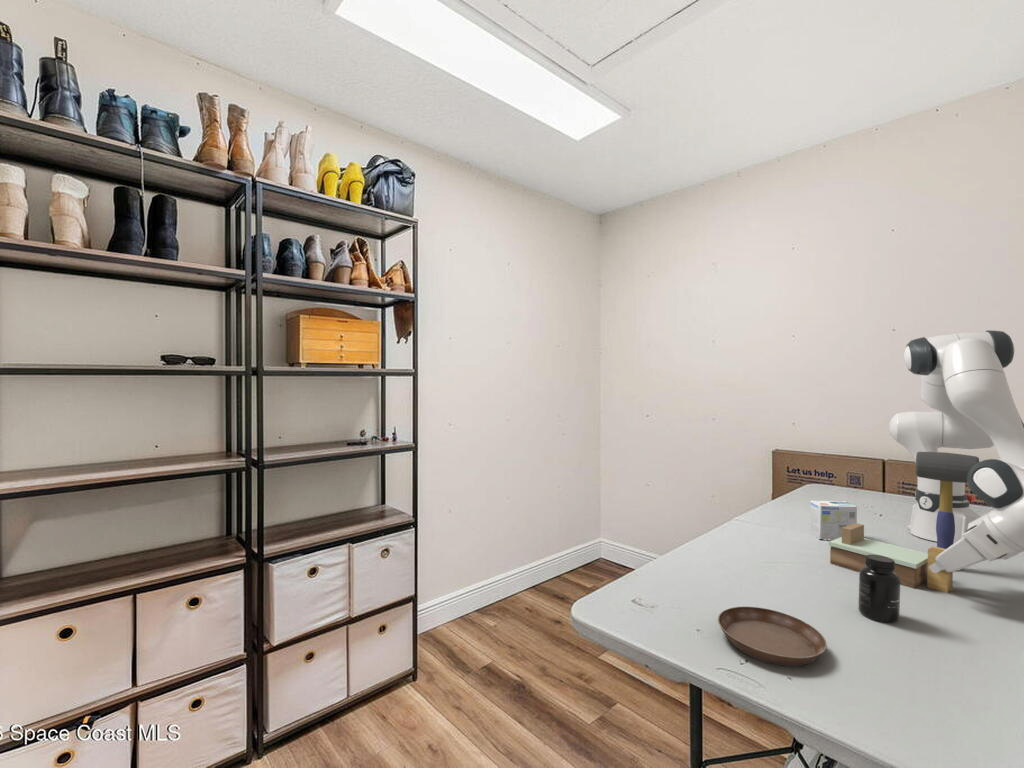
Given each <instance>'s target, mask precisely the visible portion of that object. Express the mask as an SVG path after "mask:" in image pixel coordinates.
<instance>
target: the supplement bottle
mask: <svg viewBox="0 0 1024 768" xmlns="http://www.w3.org/2000/svg"><path fill="white" fill-rule="evenodd" d="M865 565H866V567H863V568H862V569H861V570H860V572H858V574H859V575H858V577H859V578H858V611H859V613H860V614H862V615H863V616H864V617H866V618H868V619H870V620H872V621H873V620H874V621H877V622H881V623H885V624H887V623H888V624H894V623H897V622H899V620H900V615H901V614H900V610H901V608H900V607H901V606H900V605H901V584H900V578H899V576H898V575H897V574H896V573H894V572H893V571H894V570H895V561H894V560H893V559H891V558H888V557H885V556H881V555H874V554H869V555H866V561H865Z"/></svg>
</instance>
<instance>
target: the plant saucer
mask: <svg viewBox="0 0 1024 768" xmlns="http://www.w3.org/2000/svg"><path fill="white" fill-rule="evenodd" d="M717 622H718V623H717V624H718V625H719V627H720V629H721V631H722V632H723V634H724V635H725V637H726V638H727V639H728V640H729V642H730V643H731V644H732V645H733V646H735V648H737V649H738V650H739V651H741V652H743V653H745V654H746V655H747V656H750V657H752V658H754V659H756V660H759V661H762V662H765V663H770V664H774V665H777V666H785V667H797V666H798V667H799V666H803V665H808V664H810V663H811V662H814V661H816V660H817V659H818V658H819V657H821V656H822V655H823V654H824V652H825V651H826V650H827V647H828V645H827V640H826V639H825V637H824V635H823V634H822V633H821V632H820V631H818V630H817V629H816V628H815V627H813V625H810V624H808V623H807V622H805V621H803V620H801V619H799V618H797V617H795V616H792V615H790V614H787V613H783V612H780V611H777V610H773V609H769V608H763V607H755V606H734V607H729V608H726V609H724V610H722V611H721V612H720V613H719V614H718V617H717Z"/></svg>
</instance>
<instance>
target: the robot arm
mask: <svg viewBox="0 0 1024 768" xmlns="http://www.w3.org/2000/svg"><path fill="white" fill-rule="evenodd" d="M1015 351H1016V350H1015V345H1014V342H1013V340H1012V337H1011V336H1010V335H1009V334H1008V333H1006V332H1005V331H1001V330H985V331H962V332H961V331H960V332H954V333H949V334H948V333H947V334H941V335H934V336H930V337H925V336H922V337H919V338H914V339H912V340H910V341H909V342H908V343H907V344H906V346H905V350H904V352H903V361H904V365H905V366H906V368H907V369H908V370H907V371H908V372H911V373H912V374H913V375H917V376H920V382H919V383H920V386H919V387H920V390H919V397H920V399H921V400H922V402H923V403H924V404H925V405H927V406H928V407H930V408H931V409H932V410H936V411H927V410H912V411H904V412H903V411H901V412H897V413H895V414H894V415H893V416H892V417H891V418H890V420H889V423H888V430H889V435H890V436H891V437H892V439H893V440H894V441H896V443H898V444H900V445H902V446H903V447H904V448H905V449H906V450H907V451H908V453H909V454H910V455H911V457H912V458H913V460H914V463H915V464H916V455H917V452H939V451H938V449H940V448H949V449H959V450H961V449H962V450H976V449H977V450H979V449H990V448H992V447H994V449H995V451H996V454H997V456H998V459H995V458H989V459H984V460H983V459H982V461H979V463H977V464H975V465H974V466H973V467H972V468H971V469H970V471H969V473H968V475H967V483H961V482H953V506H952V512H953V514H954V520H955V536H954V542H953V545H951V546H950V547H948V548H947V549H946V550H944V551H943V552H941V553H940V554H939V555H938V556H937V557H936V558H935V559H936V561H937V562H935V563H933V564H931V565H930V566H929V568H930V570H931V571H932V572H934V573H937V572H939V571H941V570H944V569H945V570H946V571H947V572H957V571H959V570H960V571H961V570H963V569H965V568H968V567H971V566H973V565H976V564H980V563H981V562H985V561H988V562H992V561H996V560H1008V559H1010V558H1013V557H1014V556H1016V555H1019V554H1021V553H1023V552H1024V422H1023V420H1022V418H1021V415H1020V413H1019V411H1018V408H1017V406H1016V404H1015V401H1014V398H1013V396H1012V393H1011V388H1010V386H1009V382H1008V379H1007V376H1006V373H1005V370H1004V369H1005V368H1007V367H1008V366H1009V365H1010V364H1011V363H1013V360H1014V356H1015ZM916 477H917V487H916V488H915V493H914V496H915V497H914V498H915V501H916V503H914V504H913V505H912V511H911V516H910V517H911V518H910V519H911V520H910V524H908V525H907V529H908V530H909V533H910V534H911V535H913V536H914V537H917V538H921V539H924V540H928V541H933V542H936V543H937V534H936V521H937V514H938V511H939V503H940V480H934V479H927V478H922V477H918V476H916ZM966 484H967V487H968V488H969V490H970V491H971V492H972V493H973V495H972V494H968V493H967V494H966V493H965V491H966V490H965V489H966ZM974 494H975V495H974ZM976 497H978V498H979V499H980V500H981V501H983V502H984V503H985V504H986V505H988V506H990V508H991V510H990V511H988V512H987V513H985V514H983V515H979V514H978V513H977V512H976V511H975V510H973V509H972V508H971V507H970V502H971V503H975V502H976V500H977V498H976Z"/></svg>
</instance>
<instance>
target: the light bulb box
mask: <svg viewBox="0 0 1024 768" xmlns="http://www.w3.org/2000/svg"><path fill="white" fill-rule="evenodd" d="M857 514H858V506H856V505H854V504H853V503H850V502H847V501H845V500H844V501H843V500H841V501H838V500H837V501H836V500H835V501H834V500H810V517H809V518H810V524H809V526H810V529H809V530H810V533H811V535H812V534H813V535H814V536H813V535H812V536H813V537H815V536H816V537H818V538H819V539H830V540H829V541H832V540H835V539H837V538H840V537H842V528H843V527H846V526H849V525H851V524H854V523H858V522H857V519H858V518H857V517H858V515H857ZM816 537H815V538H816ZM818 538H817V539H818ZM819 539H818V540H819Z"/></svg>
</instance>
